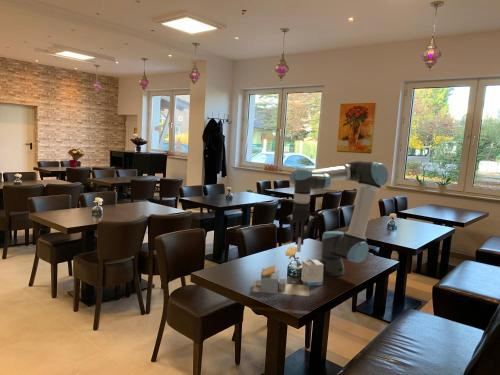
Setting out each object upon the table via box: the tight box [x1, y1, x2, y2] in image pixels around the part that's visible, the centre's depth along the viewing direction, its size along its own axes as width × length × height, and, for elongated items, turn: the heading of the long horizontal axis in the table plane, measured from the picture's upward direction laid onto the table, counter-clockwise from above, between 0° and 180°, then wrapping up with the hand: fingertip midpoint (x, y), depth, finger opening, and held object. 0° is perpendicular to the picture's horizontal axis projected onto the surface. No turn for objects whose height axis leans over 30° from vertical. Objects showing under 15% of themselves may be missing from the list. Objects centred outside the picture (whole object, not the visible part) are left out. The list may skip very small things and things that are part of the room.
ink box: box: [300, 257, 324, 287], centre depth 190 cm, size 9×8×13 cm
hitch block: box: [259, 270, 280, 294], centre depth 180 cm, size 8×12×6 cm, turn 174°
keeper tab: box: [260, 264, 276, 278], centre depth 180 cm, size 7×10×1 cm
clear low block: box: [255, 278, 287, 291], centre depth 180 cm, size 14×6×4 cm, turn 84°
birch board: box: [251, 280, 311, 297], centre depth 180 cm, size 27×13×1 cm, turn 84°
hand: (298, 251), depth 177 cm, fingers closed
